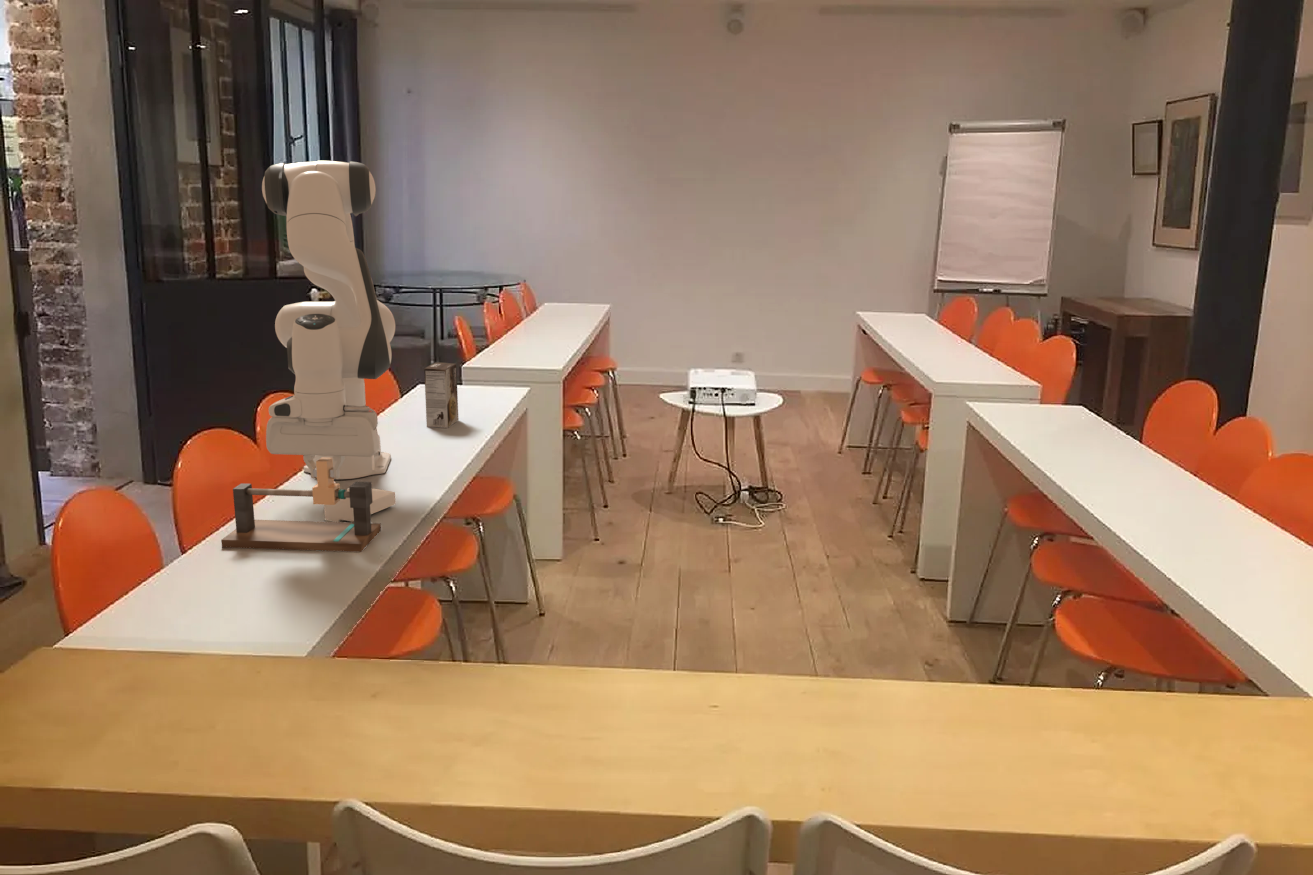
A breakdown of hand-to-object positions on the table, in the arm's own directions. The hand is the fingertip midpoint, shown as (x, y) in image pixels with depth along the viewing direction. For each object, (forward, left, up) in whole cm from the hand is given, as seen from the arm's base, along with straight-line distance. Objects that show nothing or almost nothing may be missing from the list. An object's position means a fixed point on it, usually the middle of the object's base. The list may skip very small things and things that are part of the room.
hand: (325, 477), depth 204 cm
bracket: (-16, +1, -13) cm, 21 cm away
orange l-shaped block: (0, 0, -5) cm, 5 cm away
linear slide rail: (0, -5, -12) cm, 13 cm away
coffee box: (-96, -3, -12) cm, 97 cm away
